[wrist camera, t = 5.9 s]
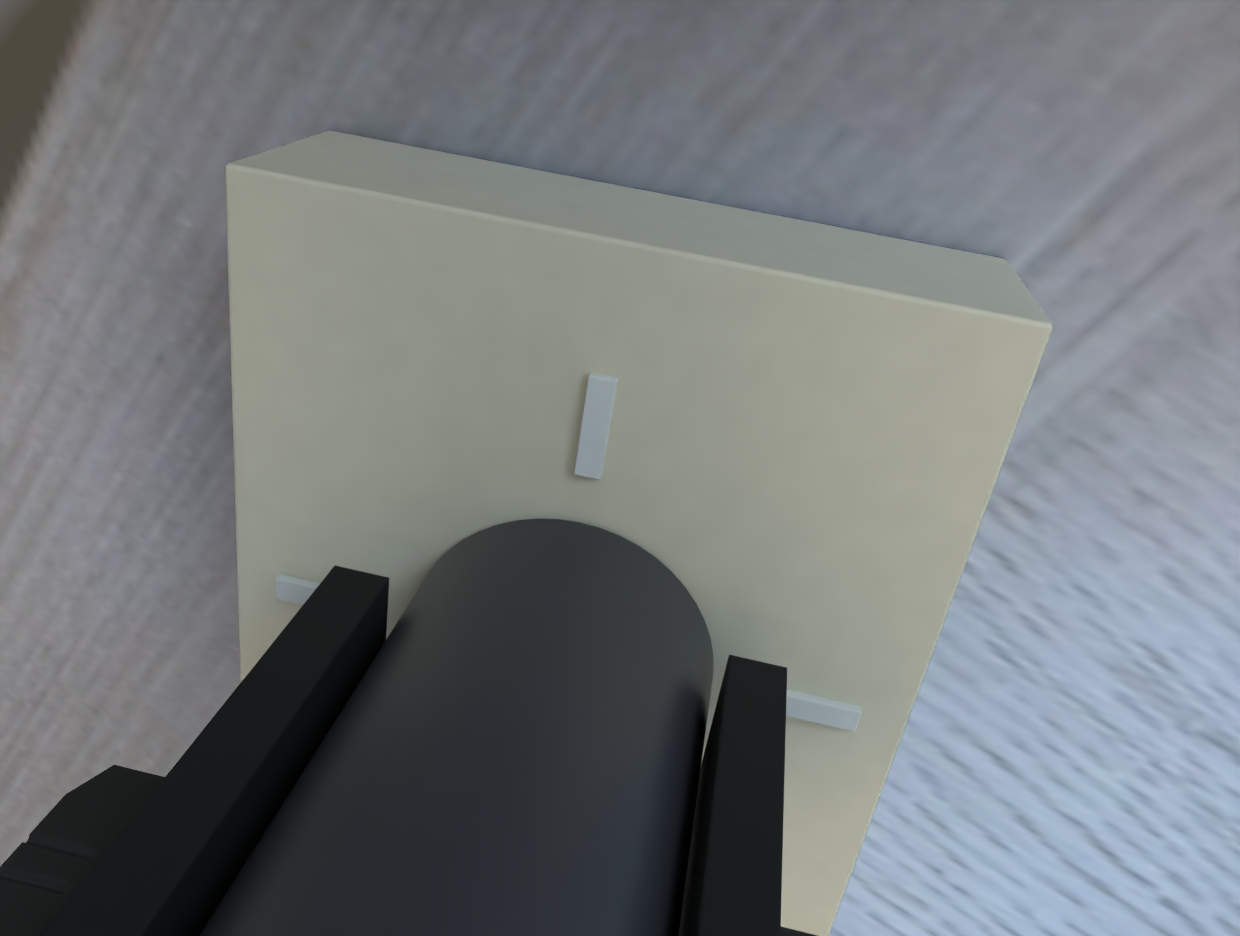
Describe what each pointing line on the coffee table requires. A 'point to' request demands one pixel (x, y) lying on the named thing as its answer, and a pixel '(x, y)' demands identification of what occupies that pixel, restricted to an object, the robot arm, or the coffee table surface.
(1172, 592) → the coffee table surface
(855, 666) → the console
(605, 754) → the dial
